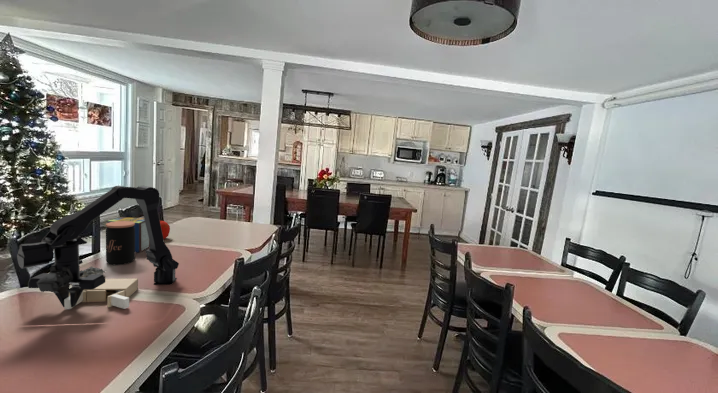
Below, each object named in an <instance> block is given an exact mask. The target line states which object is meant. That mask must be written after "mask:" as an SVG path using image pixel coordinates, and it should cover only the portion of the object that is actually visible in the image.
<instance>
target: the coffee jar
mask: <svg viewBox="0 0 718 393" xmlns="http://www.w3.org/2000/svg"><path fill="white" fill-rule="evenodd" d="M134 225H135V223H134V222H131V221H116V222H109V223H107V222H106V223H105V227H106V229H105V261H106V263H107V264H108V265H110V266H112V265H113V266H121V265H127V264H130V263H132V262H134V260H135V258H136V252H135V228H134Z"/></svg>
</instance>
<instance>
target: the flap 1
mask: <svg viewBox="0 0 718 393" xmlns="http://www.w3.org/2000/svg"><path fill="white" fill-rule="evenodd" d="M86 302H87V300H86V291H83V292H82V293H81V295H80V297H79V299H78V301H77V303H76V305H75V306H77V305H78V304H80V303H86ZM75 306H74V307H75ZM74 307H71V303H70V293H69V297H67V298H66V299H64V307H63V308H64V310H72V309H73V308H74Z"/></svg>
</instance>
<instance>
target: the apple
mask: <svg viewBox="0 0 718 393" xmlns="http://www.w3.org/2000/svg"><path fill="white" fill-rule="evenodd" d="M160 224H161V229H162V234H163V239H164V240H165V239H167V238H168V237H169V235H170V233H171V232H170V230H171V228H170V227H171V226H170V224H169V223H168V222H166V221H165V220H160Z"/></svg>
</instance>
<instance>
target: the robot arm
mask: <svg viewBox="0 0 718 393" xmlns="http://www.w3.org/2000/svg"><path fill="white" fill-rule="evenodd" d="M124 199H133V200H135V202H136V203H137V205H138V206H139V208H140V209H141V210H142V214H143V218H144V219H145V224H146V228H147V232H148V237H149V241H150V247H149V248H148V249H145V250H144V252H145V254H146V260H148V261H149V263H150V264H152V265H153V267H154V268H155V271H154V272H153V282H154V283H153V285H154V286H163V285H164V286H168V285H170V286H172V285H173V284H174V283H175V282H176V281H177V279H178V278H177V277H176V270H177V269H178V268H179V264H180V263H179V262H178V261H176V260H175V259H173V255H172V253H171V250H170V249H169V247H168V246H167V245H166V242H165V239H163V234H162V229H161V224H160V221H161V220H160V217H159V215H160V214H159V211H158V207H159V205H160V191H159V190H158V189H157V188H155V187H154V186H153V187H152V186H147V185H138V186H137V187H133V186H122V185H115V186H113V187H112V188H111V189H109V191H107V192H106V193H104V194H103V195H101V196H99V197H98V198H97V199H95V200H93V201H92V202H90V203H89V204H87V205H86V206H85V207H83V208H81V210H78V211H77V212H74V213H72V214H71V213H70V214H67V215H66V216H63V217H61V218H58V219H56V220H55V221H54V222H53V223H51V224H50V229H49V230H48V232H47V233H46V234H45V236H44V237H43V238H42V239H41V242H33V243H22V244H20V245H19V248H18V252H17V254H16V258H17V263H18V266H19V267H20V269H26V268H32V267H33V268H34V267H37V266H43V265H47V264H50V262H53V260H54V263H53V264H51V266H50V267H49V270H50V271H49V272H48V273H47V272H43V273H40V274H38V275H36V276H34V277H31V278H29V280H28V282H27V287H28V288H27V289H39V292H41V293H44V292H48V293H49V292H51V293H53V294H55V296H56V297H57V299H58V301H59V302H60V304H61V306H62V307H63V308H64V299H66V298H67V297H69V293H70V303H71V307H73V308H75V305H76V303H77V301H78V299H79V297H80V295H81V293H82V292H83V290H84V289H95V288H96V287H98V286H100V285H102V284H103V283H105V279H106V276H105V275H95V274H91V275H89V276H87V277H86V278H80V276H82V275H83V272H80V271H81V270H80V268H81V267H80V265H81V264H83V259H80V247H79V245H85V244H87V243H88V242H87V241H86V240H85V239H83V238H82V237H81V236H80V235H82V233H83V232H85V230H87V229H88V227H89V225H90V223H92V222H93V221H94V220H95V219H97V218H98V217H99V216H101V215H102V214H103V213H105V212H106V211H108V210H109V209H111V208H113V206H115V205H116V204H118V203H120V201H122V200H124ZM70 285H71V287H70ZM76 306H77V305H76Z"/></svg>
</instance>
